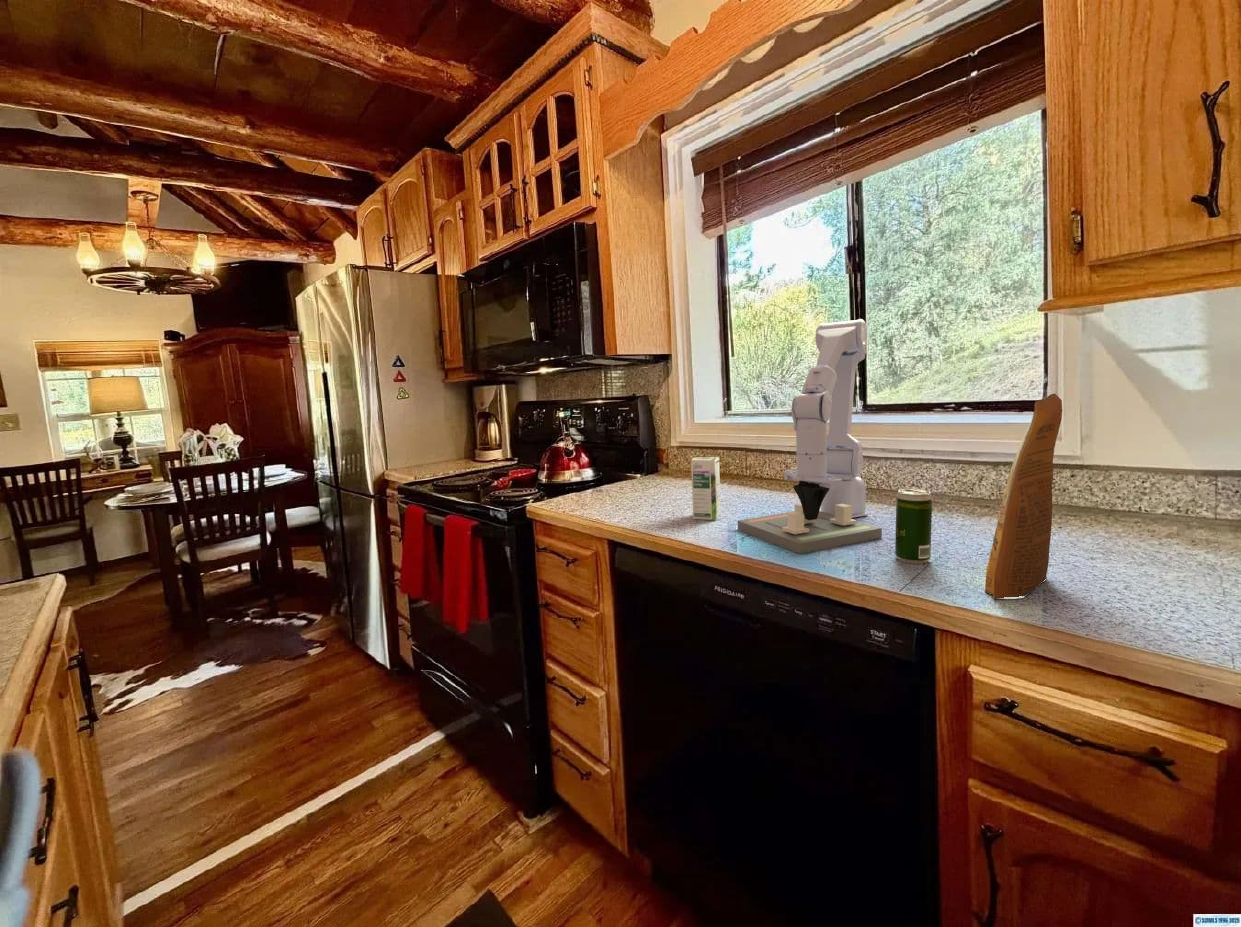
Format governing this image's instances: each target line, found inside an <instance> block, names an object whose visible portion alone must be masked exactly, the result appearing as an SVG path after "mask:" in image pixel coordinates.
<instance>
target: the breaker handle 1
mask: <svg viewBox="0 0 1241 927" xmlns="http://www.w3.org/2000/svg"><path fill="white" fill-rule="evenodd" d="M786 513H787V512H786ZM782 530H783V531H786V532H789V533H792V534H800V533H805V532H809V529H808V528H805V527H804V514H803V513H800V512H796V511H795V510H793V511H788V513H787V527H782Z"/></svg>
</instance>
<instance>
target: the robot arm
mask: <svg viewBox="0 0 1241 927" xmlns="http://www.w3.org/2000/svg"><path fill="white" fill-rule="evenodd" d="M815 330H816V331H815V345H816V348H817V349H818V357H817V362H816V365H815V366H813V367H811V368H810V370H809V371H808V373H807V376H806V377H805V378H806V379H805V380H804V384H803V386H802V390H801V392H800V393H798V394H797V396H794V397H793V399H792V402H791V408H790V409H791V410H790V411H791V417H792V421H793V428H794V429H793V430H794V431H795V432H796V433H795V435H796V438H795V439H796V440H795V442H796V443H795V444H796V449H795V450H796V451H795V454H796V469H795V470H794V469H787V470H783V479H784V480H785V481H794V482H798V484H794V485H793V491H795V493H796V495H797V497H798V499H799V503H801V505H802V508H803V512H804V515H805V519H807V520H815V519H817V518H818V514H819V511H821V512H825V513H829V514H832V515H835V505H838V504H846V505H850V506H852V514H851V519H853V518H857V517H858V518H859V517H864V516H865V517H866V516H868V515H869V512H866V505H867V504H866V501H867V500H866V498H867V496H866V494H867V489H866V484H865V482H864V480H863V479H862V478H861V477H860V475H861V474H862V473H863V470H864V456H863V455H864V454H863V453H864V452H863V450H864V448H863V445H862V443H861V442H860V441H859V440H858V439H856V438H855V437H853V436H852V435H851V433H852V420H853V404H854V394H855V382H856V379H855V378H856V371H857V367H858V364H859V363H861V362H862V361H863V360H865V358H866V353H867V346H868V343H867V342H868V328H867V324H866V321H865V320H864V319H862V318H858V319H855V320H848V321H838V322H829V323H827V322H826V323H819V325H818V326H817V328H816V329H815ZM828 421H829V422H828ZM827 423H829V424H828V429H827ZM827 430H828V431H827Z"/></svg>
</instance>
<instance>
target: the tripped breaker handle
mask: <svg viewBox="0 0 1241 927" xmlns="http://www.w3.org/2000/svg"><path fill="white" fill-rule="evenodd" d="M794 511H796V512H800V513H803V514H804V512H803V508H802V505H801V502H799V503H795V504H794ZM813 522H816V519H815V520H807V519H805V515H804V524H807V523H813Z"/></svg>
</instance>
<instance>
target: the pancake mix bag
mask: <svg viewBox="0 0 1241 927" xmlns="http://www.w3.org/2000/svg"><path fill="white" fill-rule="evenodd" d="M1062 401H1063V400H1062V398H1060V397H1059V396H1058V394H1056V393H1050V394H1049V395H1048V396H1047V397H1045V398H1043V399H1039V400H1037V401H1035V402H1034V411H1033V414H1032V418H1031V421H1030V423H1029V425H1028V427H1027V429H1026V432H1025V433H1024V436H1023V438H1022V440H1021V442H1020V444H1019V446H1018V448H1017V451H1016V454H1015V457H1014V459H1013V462H1012V465H1011V468H1010V471H1009V475H1008V479H1007V480H1008V481H1007V484H1006V486H1005V489H1004V494H1003V497H1002V502H1001V506H1000V509H999V514H998V515H999V516H998V519H997V524H996V528H995V531H994V536H993V539H992V540H993V541H992V544H991V549H990V554H989V558H988V562H987V566H986V571H985V581H984V582H985V583H984V584H985V585H984V593H986V592H987V593H986V594H988V593H991V594H993V595H992V599H993V598H1004V597H1019V596H1025V595H1027V594H1028V593H1029V594H1031V593H1032V592H1033V591H1034V590H1036V589H1037V588H1038V587H1039V586H1040V585H1041V584H1042V583H1041V582H1043V581H1044V580H1045V579H1046V580H1047V574H1048V568H1049V563H1050V561H1049V560H1050V547H1051V546H1050V545H1051V535H1052V524H1053V523H1052V522H1053V521H1052V520H1053V482H1054V457H1055V447H1056V443H1057V439H1058V435H1059V432H1060V427H1061V422H1062V417H1063V416H1062V415H1063V403H1062ZM1040 583H1041V584H1040ZM1043 583H1044V582H1043ZM1039 584H1040V585H1039ZM1038 585H1039V586H1038ZM1037 586H1038V587H1037ZM1036 587H1037V588H1036ZM1032 590H1033V591H1032ZM1031 591H1032V592H1031ZM1030 592H1031V593H1030ZM1029 594H1028V595H1029ZM1028 595H1027V596H1028Z"/></svg>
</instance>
